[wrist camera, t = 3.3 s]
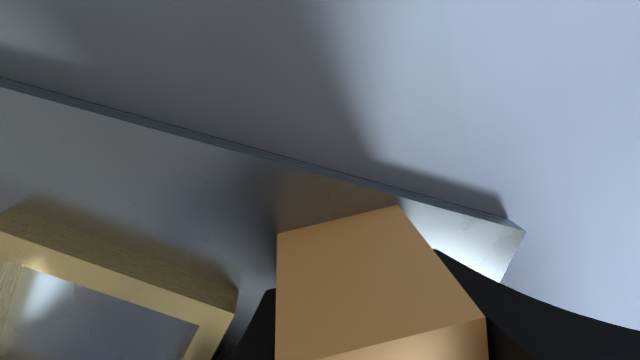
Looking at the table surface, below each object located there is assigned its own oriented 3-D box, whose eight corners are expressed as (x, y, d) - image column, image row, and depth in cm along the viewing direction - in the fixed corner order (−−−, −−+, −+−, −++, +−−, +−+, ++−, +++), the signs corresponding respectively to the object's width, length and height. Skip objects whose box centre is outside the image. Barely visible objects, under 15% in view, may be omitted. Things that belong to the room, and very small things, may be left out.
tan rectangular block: (413, 304, 13) (497, 462, 8) (305, 331, 13) (320, 508, 8) (397, 204, 12) (485, 317, 7) (277, 233, 12) (274, 369, 7)
